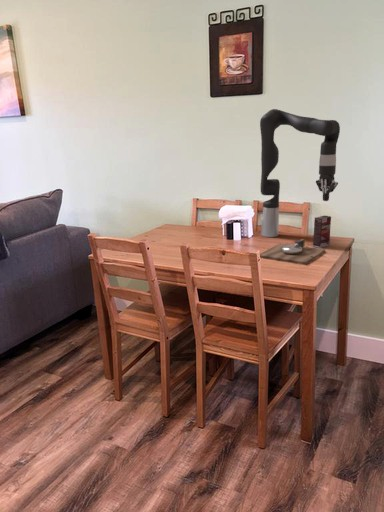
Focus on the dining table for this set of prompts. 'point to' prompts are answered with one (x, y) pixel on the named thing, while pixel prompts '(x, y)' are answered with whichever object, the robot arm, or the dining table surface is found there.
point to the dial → (294, 247)
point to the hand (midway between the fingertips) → (325, 200)
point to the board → (301, 258)
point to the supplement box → (322, 231)
